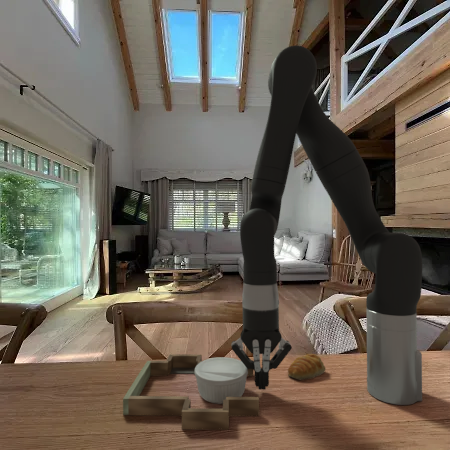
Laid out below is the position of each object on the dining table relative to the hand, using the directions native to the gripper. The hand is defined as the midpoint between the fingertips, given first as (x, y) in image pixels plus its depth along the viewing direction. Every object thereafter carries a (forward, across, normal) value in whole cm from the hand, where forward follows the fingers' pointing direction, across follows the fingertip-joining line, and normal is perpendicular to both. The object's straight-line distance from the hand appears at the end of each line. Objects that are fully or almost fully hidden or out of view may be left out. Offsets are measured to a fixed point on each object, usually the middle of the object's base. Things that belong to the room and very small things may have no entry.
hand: (261, 387), depth 67 cm
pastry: (+2, -12, -10) cm, 15 cm away
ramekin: (+1, +8, 0) cm, 8 cm away
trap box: (+1, +13, 0) cm, 13 cm away
